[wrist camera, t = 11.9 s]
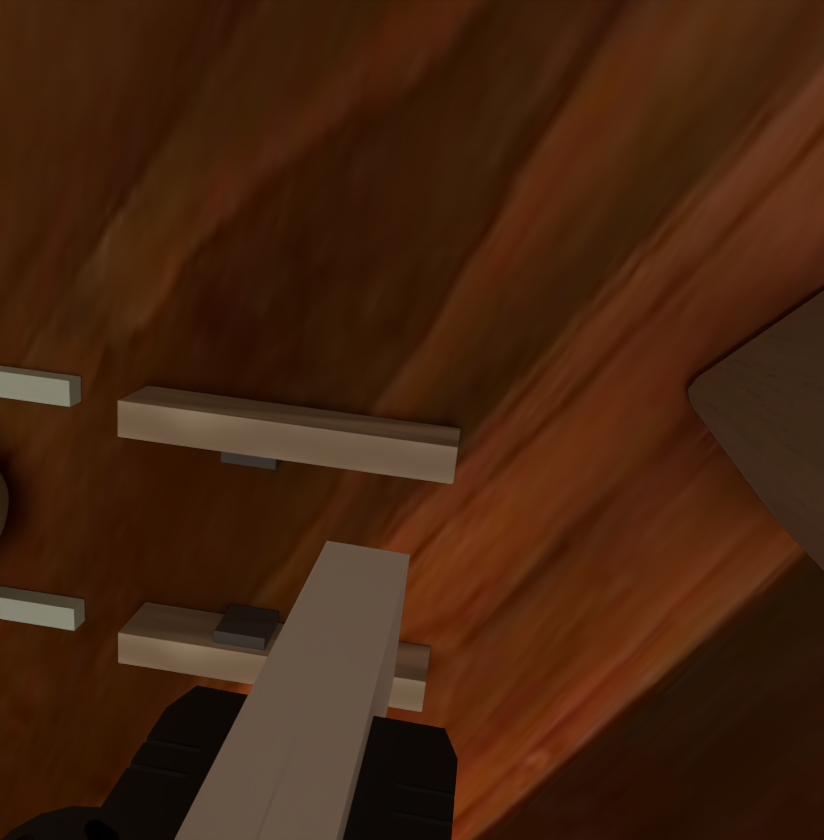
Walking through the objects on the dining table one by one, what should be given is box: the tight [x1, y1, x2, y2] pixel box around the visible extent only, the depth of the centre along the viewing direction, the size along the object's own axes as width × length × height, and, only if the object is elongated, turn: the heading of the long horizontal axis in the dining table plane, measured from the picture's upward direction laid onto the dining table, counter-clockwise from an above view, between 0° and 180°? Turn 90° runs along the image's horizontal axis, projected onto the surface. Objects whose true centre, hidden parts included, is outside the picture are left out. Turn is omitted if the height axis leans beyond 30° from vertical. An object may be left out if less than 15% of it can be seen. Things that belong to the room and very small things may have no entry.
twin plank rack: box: [118, 386, 460, 712], centre depth 41 cm, size 16×18×4 cm
